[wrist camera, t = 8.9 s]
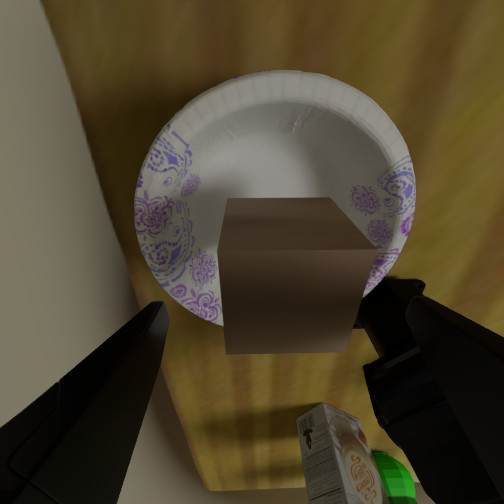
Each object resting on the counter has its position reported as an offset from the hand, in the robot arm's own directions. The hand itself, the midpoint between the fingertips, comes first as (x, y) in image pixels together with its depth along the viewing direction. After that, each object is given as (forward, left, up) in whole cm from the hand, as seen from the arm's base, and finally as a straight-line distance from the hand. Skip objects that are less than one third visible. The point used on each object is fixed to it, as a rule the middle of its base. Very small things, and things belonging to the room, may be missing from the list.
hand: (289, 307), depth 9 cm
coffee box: (-37, -11, -13) cm, 41 cm away
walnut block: (0, 0, -5) cm, 5 cm away
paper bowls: (0, 0, -13) cm, 13 cm away
